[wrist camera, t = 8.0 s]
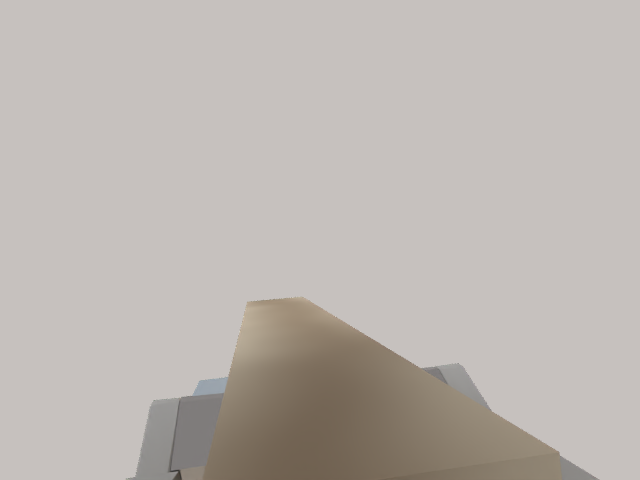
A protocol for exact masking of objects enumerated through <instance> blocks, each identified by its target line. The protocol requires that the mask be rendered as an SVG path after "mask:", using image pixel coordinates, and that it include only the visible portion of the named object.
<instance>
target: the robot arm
mask: <svg viewBox="0 0 640 480" xmlns="http://www.w3.org/2000/svg"><path fill="white" fill-rule="evenodd" d="M421 369H423V370H424V371H426V372H427V373H429V374H431V375H432V376H434V377H436V378H437V379H439V380H441V381H442V382H444V383H446V384H447V385H449V386H451V387H452V388H454V389H456V390H457V391H459V392H461V393H462V394H464V395H465V396H467V397H469V398H470V399H472V400H474V401H475V402H477V403H479V404H480V405H482V406H484V407H485V408H487V409H489V410H490V411H491V409H490V408H489V406H488V405H487V403H486V402H485V400H484V398H483V397H482V395H481V394H480V392H479V391H478V389H477V388H476V386H475V385H474V383H473V381H472V380H471V378H470V377H469V375H468V374H467V372H466V371H465V369H464V367H463V366H461V365H460V364H459V363H458V364H450V365H443V366H436V367H429V368H421ZM223 396H224V393H218V394H208V395H197V396H187V397H181V398H174V399H162V400H154V401H153V403H152V405H151V407H150V410H149V414H148V419H147V424H146V429H145V433H144V438H143V443H142V448H141V453H140V457H139V462H138V467H137V472H136V477H134V478H128V479H126V480H202V479H203V475H204V471H205V467H206V464H207V460H208V456H209V452H210V448H211V444H212V440H213V436H214V432H215V428H216V424H217V420H218V416H219V412H220V408H221V404H222V400H223ZM560 464H561V473H562V480H599V479H597V478H596V477H594V476H592V475H591V474H589V473H587V472H586V471H584V470H582V469H581V468H579V467H578V466H576V465H574V464H573V463H571V462H569V461H568V460H566V459H564V458H563V457H561V456H560Z"/></svg>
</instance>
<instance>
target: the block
mask: <svg viewBox="0 0 640 480" xmlns="http://www.w3.org/2000/svg"><path fill="white" fill-rule="evenodd" d="M202 480H562V473H561V464H560V455H559V452H558V451H556V450H555V449H553V448H551V447H550V446H548V445H546V444H545V443H543V442H541V441H540V440H538V439H537V438H535V437H533V436H532V435H530V434H528V433H527V432H525V431H523V430H521V429H520V428H518V427H517V426H515V425H513V424H512V423H510V422H508V421H507V420H505V419H503V418H502V417H500V416H499V415H497V414H495V413H494V412H492V411H490V410H489V409H487V408H485V407H484V406H482V405H480V404H479V403H477V402H475V401H474V400H472V399H470V398H469V397H467V396H465V395H464V394H462V393H461V392H459V391H457V390H456V389H454V388H452V387H451V386H449V385H447V384H446V383H444V382H442V381H441V380H439V379H437V378H436V377H434V376H432V375H431V374H429V373H427V372H426V371H424V370H423V369H421V368H419V367H418V366H416V365H414V364H412V363H411V362H409V361H408V360H406V359H404V358H403V357H401V356H399V355H398V354H396V353H394V352H393V351H391V350H390V349H388V348H386V347H385V346H383V345H381V344H380V343H378V342H376V341H375V340H373V339H371V338H370V337H368V336H366V335H364V334H363V333H361V332H360V331H358V330H356V329H355V328H353V327H352V326H350V325H348V324H347V323H345V322H343V321H342V320H340V319H338V318H337V317H335V316H333V315H332V314H330V313H328V312H327V311H325V310H323V309H322V308H320V307H318V306H317V305H315V304H313V303H312V302H310V301H309V300H307V299H305V298H304V297H295V298H284V299H273V300H262V301H253V302H252V301H251V302H247V305H246V309H245V313H244V317H243V321H242V325H241V329H240V333H239V337H238V341H237V345H236V349H235V353H234V357H233V361H232V364H231V368H230V372H229V377H228V380H227V384H226V388H225V392H224V396H223V400H222V404H221V408H220V412H219V416H218V420H217V424H216V428H215V432H214V436H213V440H212V444H211V448H210V452H209V456H208V460H207V464H206V467H205V471H204V475H203V479H202Z"/></svg>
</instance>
